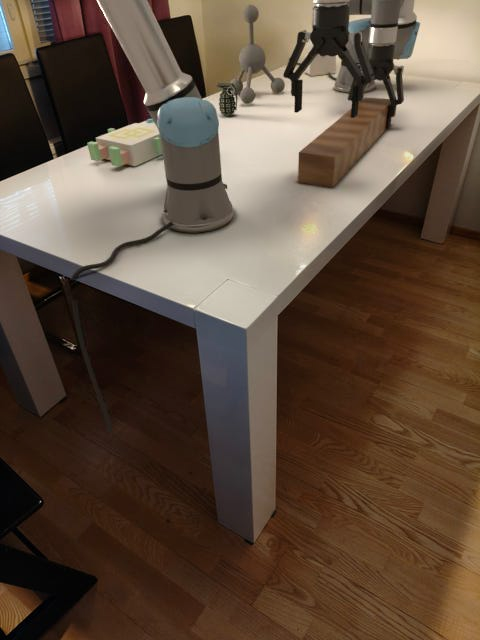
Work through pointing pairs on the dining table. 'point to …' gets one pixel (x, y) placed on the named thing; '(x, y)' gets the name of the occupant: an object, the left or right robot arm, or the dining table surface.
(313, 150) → the wooden square beam
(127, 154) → the decorative block
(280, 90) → the molecular model
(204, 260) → the dining table surface
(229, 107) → the grenade
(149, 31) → the left robot arm
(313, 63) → the electronic device
